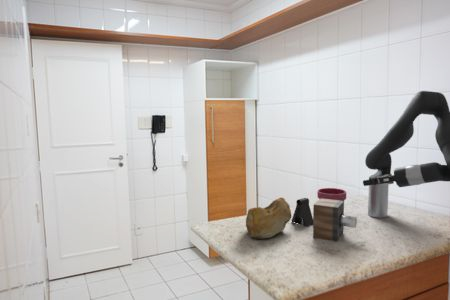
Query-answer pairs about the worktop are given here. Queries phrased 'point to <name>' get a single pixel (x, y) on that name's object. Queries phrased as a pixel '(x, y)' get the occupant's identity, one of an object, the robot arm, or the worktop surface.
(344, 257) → the worktop surface
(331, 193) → the plant pot
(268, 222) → the rough brown rock
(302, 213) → the phone stand
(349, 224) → the peg
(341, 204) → the housing
